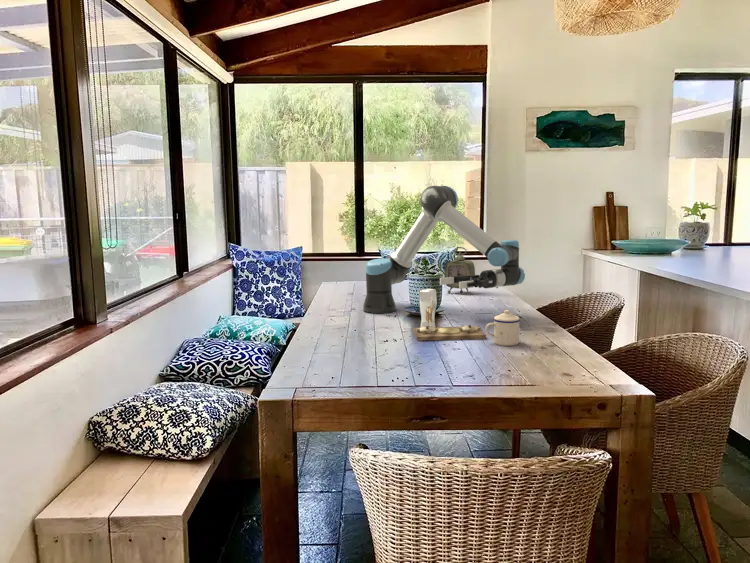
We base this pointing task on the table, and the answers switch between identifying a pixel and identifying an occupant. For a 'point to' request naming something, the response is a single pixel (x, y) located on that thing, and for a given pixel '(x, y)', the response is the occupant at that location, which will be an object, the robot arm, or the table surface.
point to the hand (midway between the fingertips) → (449, 283)
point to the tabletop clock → (459, 269)
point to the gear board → (449, 333)
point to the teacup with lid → (505, 329)
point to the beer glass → (427, 307)
